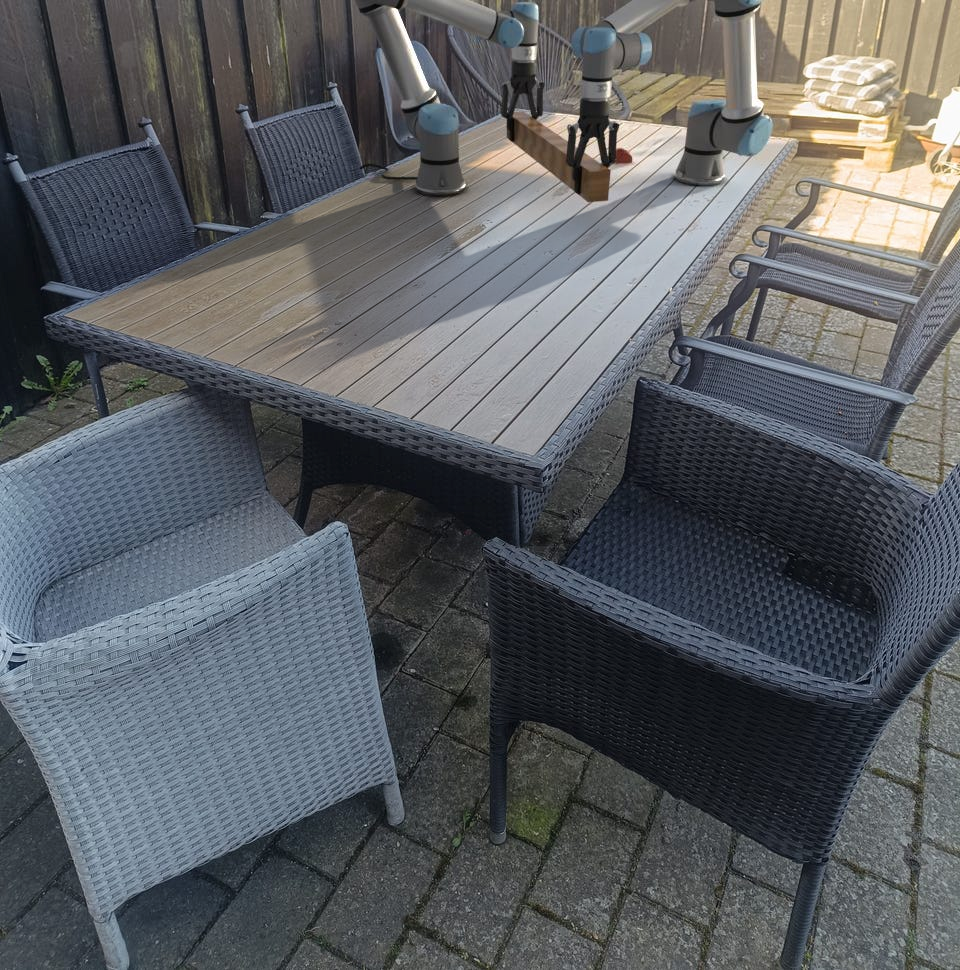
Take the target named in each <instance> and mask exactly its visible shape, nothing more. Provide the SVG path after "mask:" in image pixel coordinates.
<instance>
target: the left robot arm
mask: <svg viewBox="0 0 960 970" xmlns="http://www.w3.org/2000/svg"><path fill="white" fill-rule="evenodd" d="M354 3H355V4H356V7H357V9H358V11H359V13H360V15H361V16H362V15H363V16H364V17H366V18H367V19H368V21H369V23H370V26H371V27H372V30H373V32H374V35H375V37H376V40H377V42H378V45H379V46H380V49H381V51H382V53H383V56H384V58H385V61H386V63H387V66H388V68H389V70H390V72H391V75H392V77H393V79H394V82H395V84H396V87H397V89H398V92H399V94H400V96H401V99H402V100H401V103H400V108H401V109H400V110H401V112H402V113H403V116H404V118H405V124H406V128H407V130H408V132H409V133H410V135H411V136H412V137H413V138H414V139H416V140H417V141H418V142H419V157H420V158H419V159H420V161H419V162H420V164H419V168H418V172H417V176H388V175H387V174H388V173H389V172H390V169H389V168H388V167H386V166H384V165H381V164H377V163H364V164H362V165H361V166H360V167H358V170H363V169H364V168H366V167H374V168H379V169H383V170H384V169H385V170H384V171H383V172H382V173H381V174H380V175H381V176H380V177H381V178H383V179H385V180H392V181H396V180H397V181H398V180H400V181H401V180H404V181H415V183H414V184H415V185H414V186H415V192H417V193H418V194H420V195H424V196H430V197H450V196H455V195H459V194H461V193H463V192H464V191H466V181H465V179H464V176H463V172H462V169H461V165H460V141H459V140H460V139H459V137H460V135H459V134H460V132H459V129H460V128H459V127H460V119H459V113H458V111H457V109H456V108H455V107H454V106H452V105H449V104H446V103H441V101H440V98H439V96H438V94H437V91H436V89H434V88H432V87H430V86H429V85H428V82H427V80H426V77H425V75H424V72H423V70H422V66H421V65H420V62H419V60H418V57H417V54H416V52H415V50H414V47H413V45H412V42H411V40H410V38H409V34H408V32H407V30H406V27H405V25H404V22H403V20H402V18H401V15H400V13H399V11H401V10H403V9H406V10H408V11H412V12H414V13H418V14H419V15H422V16H425V17H428V18H430V19H433V20H435V21H438V22H440V23H443V24H446V25H449V26H451V27H453V28H455V29H458V30H461V31H464V32H466V33H470V34H472V35H474V37H475V39H476V40H477V41H484V42H487V41H490V42H492V43H495V44H498V45H499V46H501V47H502V48H506V49H511V59H512V61H511V70H510V71H511V73H510V74H511V75H510V78H509V81H506V82H504V81H503V82H501V89H502V95H501V109H500V116H501V117H502V118H504V119H506V127H505V128H506V131H507V130H509V139H508V141H510V142H511V143H513V142H514V119H512V117H513V113H514V112H515V110H516V107H517V103H518V101H519V98H520V95H523V94H524V95H525V96H526V98H527V102H528V107H529V111H530V116H531V117H533V118H534V119H536V120H537V121H538V119H539V117H543V115H544V88H545V85H546V84H545V82H543V80H537V77H536V74H537V62H536V60H537V50H538V32H539V30H538V29H539V22H540V21H539V6H538V4H536V2H532V1H531V2H530V1H521V2H515V3H514V4H513V5H512V6H513V8H512V9H511V10H495V9H492V8H490V7H486V6H484V5H482V4H480V3H477V2H474V1H472V0H354ZM535 87H536V105H535V100H534V92H533V89H534V88H535ZM510 88H512V89H513V90H512V94H511V99H510V103H509V90H510ZM508 104H509V105H508Z"/></svg>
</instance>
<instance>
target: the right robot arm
mask: <svg viewBox="0 0 960 970" xmlns="http://www.w3.org/2000/svg"><path fill="white" fill-rule="evenodd" d="M695 1H696V0H631V1H629V2H628V3H625V5H623V6H622V7H620V8H618V9H617V10H616V11H614V12H613V13H611V14H610V15H608V16H607V17H606V18H604V19H602V20H601V21H600V22H598V23H597V24H594V25H593V26H589V25H588V26H580V27H578V28H577V29H576V30H575V31H574V32H573V35H572V37H571V42H570V46H571V51H572V53H573V55H574V56H575V57H576V58H579V59H581V60H582V69H581V84H580V97H581V98H580V99H579V100H580V101H579V118H578V120H577V122H575V123H573V124H568V125H566V129H567V132H568V136H567V138H568V139H567V141H568V145H567V155H566V164H567V165H568V166H570V167H572V180H574V181H575V186H574V191H573V192H574V193H575V194H577V195H578V194H580V193H581V178H582V168H580V164H581V161H582V158H583V155H584V153H586V152H585V151H586V148H587V145H588V143H589V142H590V139H593V138H595V139H596V142H597V147H598V153H599V157H600V162H601V164H602V165H604V166H605V167H606V168H608V169H609V167H611V164H616V149H617V143H618V141H617V140H618V133H619V129H620V124H619V122H617V121H615V120H613V121H611V120H610V112H611V111H610V110H611V100H610V97H611V96H612V86H613V85H612V84H613V77H614V75H613V74H614V71H615V70H623V69H631V68H634V69H636V68H637V67H641V66H644V65H646V64H647V63H648V62H649V61H650V60H651V57H652V54H653V53H652V52H653V44H652V40H651V38H650V36H649V35H648V34H646V33H645V32H642V31H643V30H644V29H646V28H647V27H649V26H650V25H652V24H653V23H655V22H656V21H658V20H659V19H660V18H662V17H663V16H665V15H666V14H668V13H669V12H671V11H673V10H674V9H675V8H676V7H685V6H687V5H688V4H690V3H691V2H695ZM707 1H709V2H713V3H714V13H715V16H716V17H717V18H718V19H720V20H721V34H722V36H721V37H722V50H723V51H722V53H723V70H724V72H723V73H724V90H725V99H706V100H699V101H695V102H693V103H692V104H691V105H690V107H689V108H690V109H689V113H688V116H687V124H686V125H687V126H686V135H685V143H684V150H683V154H682V156H681V158H680V161H679V162H678V165H677V167H676V168H675V172H674V173H675V174H674V179H675V180H676V181H677V182H680V183H683V184H686V185H693V186H714V185H715V186H716V185H720V184H722V183H723V182H724V181H725V177H726V176H725V175H726V173H725V167H724V160H723V151H725V152H727V153H728V152H729V153H733V154H736V155H738V156H744V157H749V158H751V157H754V156H756V155H758V154H759V153H761V151H763V150H764V148H765V147H766V145H767V144H768V142H769V140H770V138H771V135H772V132H773V120H772V118H771V117H770V116H768V115H767V114H764V103H763V102H762V101H761V100H760V99H759V98H758V81H757V80H758V78H757V77H758V75H757V48H756V47H757V45H756V44H757V43H756V41H757V40H756V12H757V11H758V10H759V9H760V7H761V4H762V3H761V2H762V1H763V0H707ZM578 130H579V131H580V135H579V142H578V144H577V143H576V142H577V133H578V132H579V131H578ZM606 130H608V148H607V144H606V136H605V132H606ZM576 144H577V146H576ZM575 147H577V150H576V153H575ZM574 153H575V156H574Z"/></svg>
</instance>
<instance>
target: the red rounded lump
mask: <svg viewBox="0 0 960 970" xmlns="http://www.w3.org/2000/svg"><path fill="white" fill-rule="evenodd" d="M632 163H633V156H632V154H631V152H630V150H628V149H624V148H623V147H616V162H615V164H616V165H620V164H632Z"/></svg>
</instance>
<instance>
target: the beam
mask: <svg viewBox="0 0 960 970" xmlns="http://www.w3.org/2000/svg"><path fill="white" fill-rule="evenodd" d="M512 119H514V142H512V143H513V144H514V145H515V146H517V148H519V149H520V150H522V152H523V153H525V154H526V155H528V156H529V157H530V158H532V160H534V161H535V162H536V163H538V164H539V165H540V166H542V167H543V168H544V169H545V170H547V171H548V172H549V173H550V174H551V175H553V176H554V177H555V178H557V179H558V180H559V181H560V182H562V183H563V184H564V185H565V186H567V187H568V188H569V189H570V190H572V191H573V192H574V186H575V181H574V180H572V167H570V166H568V165H567V164H566V155H567V145H568V139H567V140H566V139H565V138H564V137H562V136H560V135H559V134H558V133H556V132H555V131H554V130H552V129H551V128H549V127H547V126H546V125H545V124H543V123H541V122H540V121H539V120H538V119H537V120H536V119H534V118H533V117H532V116H531V114H530V115H529V114H528V113H527V112H525V111H523V110H522V111H514V113H513V117H512ZM506 139H507V140H509V130H507V129H506ZM577 147H578V146H575V153H576V150H577ZM575 153H574V156H575ZM580 168H582V178H581V193H580V194H577V195H578V196H579V197H581V198H582V199H583V200H584V201H586V202H587V203H597V202H608V201H609V192H610V183H611V182H610V181H611V173H612V172H611V169H610V168H609V167H608V168H606V167H605V166H604V165H602V163H600V161H598V160H596V159H595V158H593V157H592V156H590V155H589V154H587V153H586V152H584V155H583V158H582V161H581V164H580Z"/></svg>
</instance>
